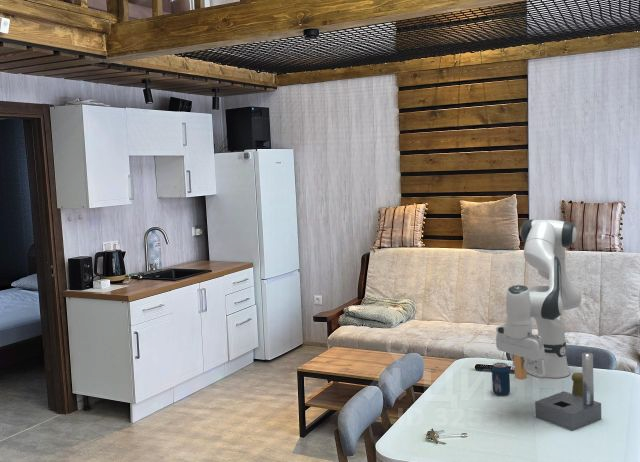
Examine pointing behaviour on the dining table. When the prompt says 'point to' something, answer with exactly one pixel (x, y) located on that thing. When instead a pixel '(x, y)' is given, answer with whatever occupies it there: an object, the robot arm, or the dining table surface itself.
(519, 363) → the orange brown rectangular block
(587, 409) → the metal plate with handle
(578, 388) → the cork
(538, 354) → the robot arm
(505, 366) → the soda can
